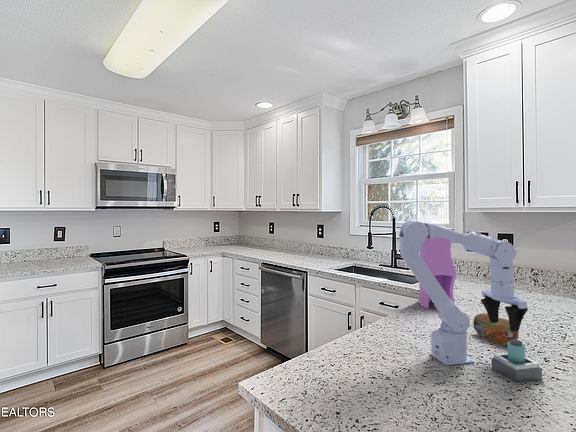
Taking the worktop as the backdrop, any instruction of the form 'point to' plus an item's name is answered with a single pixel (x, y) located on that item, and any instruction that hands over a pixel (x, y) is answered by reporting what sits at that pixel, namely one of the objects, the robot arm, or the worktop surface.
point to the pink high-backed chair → (438, 266)
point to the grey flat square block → (517, 369)
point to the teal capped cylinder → (516, 351)
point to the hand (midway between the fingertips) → (504, 326)
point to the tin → (494, 329)
